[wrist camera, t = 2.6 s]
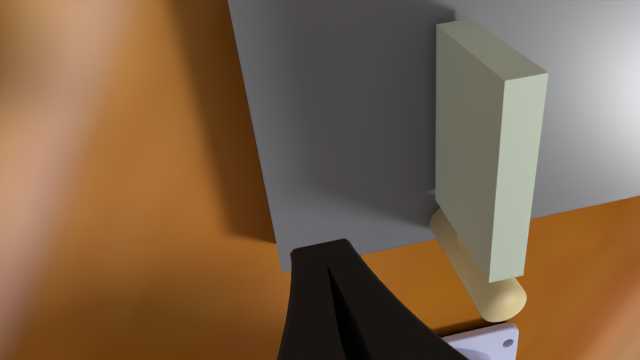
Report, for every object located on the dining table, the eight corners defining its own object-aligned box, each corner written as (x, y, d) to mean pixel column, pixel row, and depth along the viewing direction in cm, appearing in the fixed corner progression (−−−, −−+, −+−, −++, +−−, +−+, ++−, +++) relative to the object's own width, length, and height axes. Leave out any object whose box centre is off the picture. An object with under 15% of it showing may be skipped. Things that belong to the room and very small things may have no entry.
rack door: (467, 231, 20) (523, 316, 16) (429, 239, 20) (479, 326, 16) (477, 17, 15) (557, 70, 12) (429, 25, 15) (496, 82, 12)
